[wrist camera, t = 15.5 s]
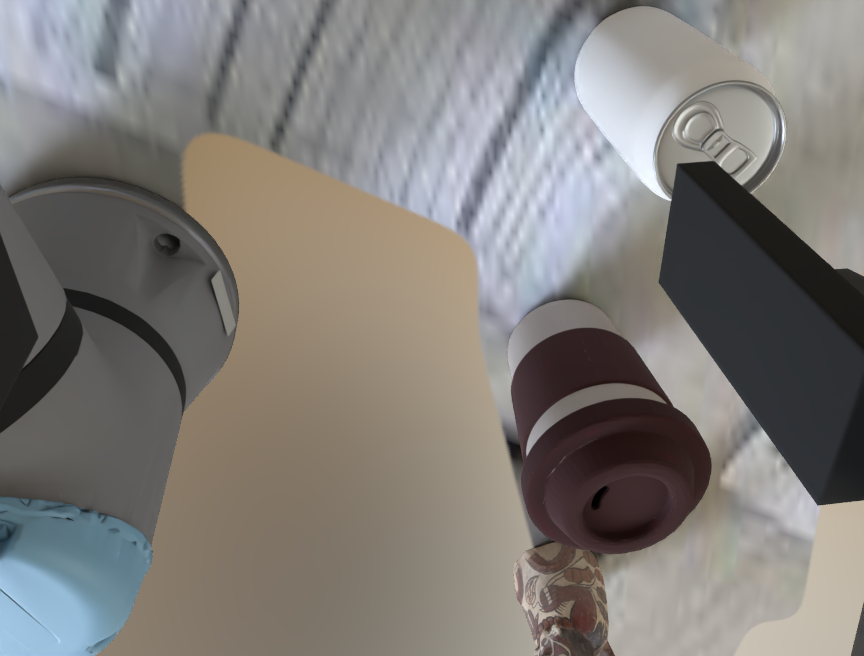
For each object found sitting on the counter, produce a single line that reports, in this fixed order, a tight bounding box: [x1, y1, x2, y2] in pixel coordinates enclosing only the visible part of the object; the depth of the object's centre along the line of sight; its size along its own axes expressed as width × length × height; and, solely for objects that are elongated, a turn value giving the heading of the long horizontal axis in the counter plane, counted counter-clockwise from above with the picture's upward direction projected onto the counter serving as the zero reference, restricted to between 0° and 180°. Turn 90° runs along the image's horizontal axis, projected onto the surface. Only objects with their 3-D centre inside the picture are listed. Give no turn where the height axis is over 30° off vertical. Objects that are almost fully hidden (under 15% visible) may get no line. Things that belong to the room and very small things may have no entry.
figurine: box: [514, 542, 615, 656], centre depth 60 cm, size 7×7×12 cm
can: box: [574, 6, 787, 201], centre depth 38 cm, size 6×6×12 cm
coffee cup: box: [507, 299, 712, 554], centre depth 46 cm, size 10×10×15 cm
